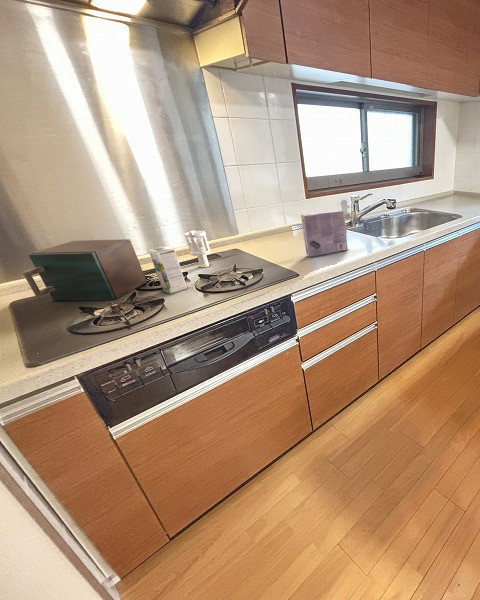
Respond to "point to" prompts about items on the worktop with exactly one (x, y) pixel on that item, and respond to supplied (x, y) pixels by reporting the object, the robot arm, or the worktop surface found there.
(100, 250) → the cupboard
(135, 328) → the worktop surface
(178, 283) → the syrup box
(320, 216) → the purple printed carton
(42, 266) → the cupboard door
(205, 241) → the white slotted fitting
